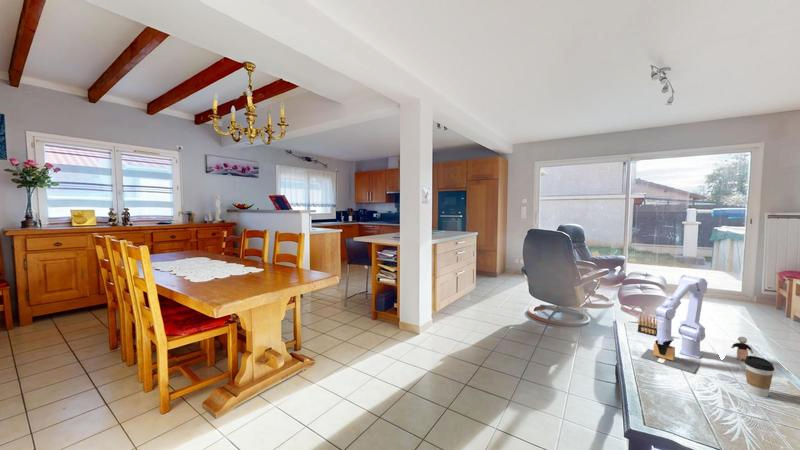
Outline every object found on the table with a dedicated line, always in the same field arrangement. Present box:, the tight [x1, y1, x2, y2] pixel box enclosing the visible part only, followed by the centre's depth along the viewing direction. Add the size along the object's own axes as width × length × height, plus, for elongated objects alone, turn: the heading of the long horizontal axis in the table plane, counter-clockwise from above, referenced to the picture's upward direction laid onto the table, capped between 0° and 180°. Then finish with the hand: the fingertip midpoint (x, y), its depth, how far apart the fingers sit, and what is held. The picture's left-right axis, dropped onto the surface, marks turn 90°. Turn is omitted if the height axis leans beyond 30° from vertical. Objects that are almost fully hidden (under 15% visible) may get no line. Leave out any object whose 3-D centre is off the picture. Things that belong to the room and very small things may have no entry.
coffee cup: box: [743, 355, 775, 398], centre depth 130 cm, size 8×8×15 cm
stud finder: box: [653, 342, 676, 360], centre depth 160 cm, size 4×8×6 cm, turn 37°
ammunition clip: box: [637, 314, 657, 337], centre depth 192 cm, size 11×2×12 cm, turn 38°
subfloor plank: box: [640, 348, 700, 375], centre depth 158 cm, size 14×21×1 cm, turn 37°
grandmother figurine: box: [730, 336, 754, 362], centre depth 158 cm, size 8×4×13 cm, turn 54°
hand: (663, 353), depth 160 cm, fingers closed on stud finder, 4 cm apart
